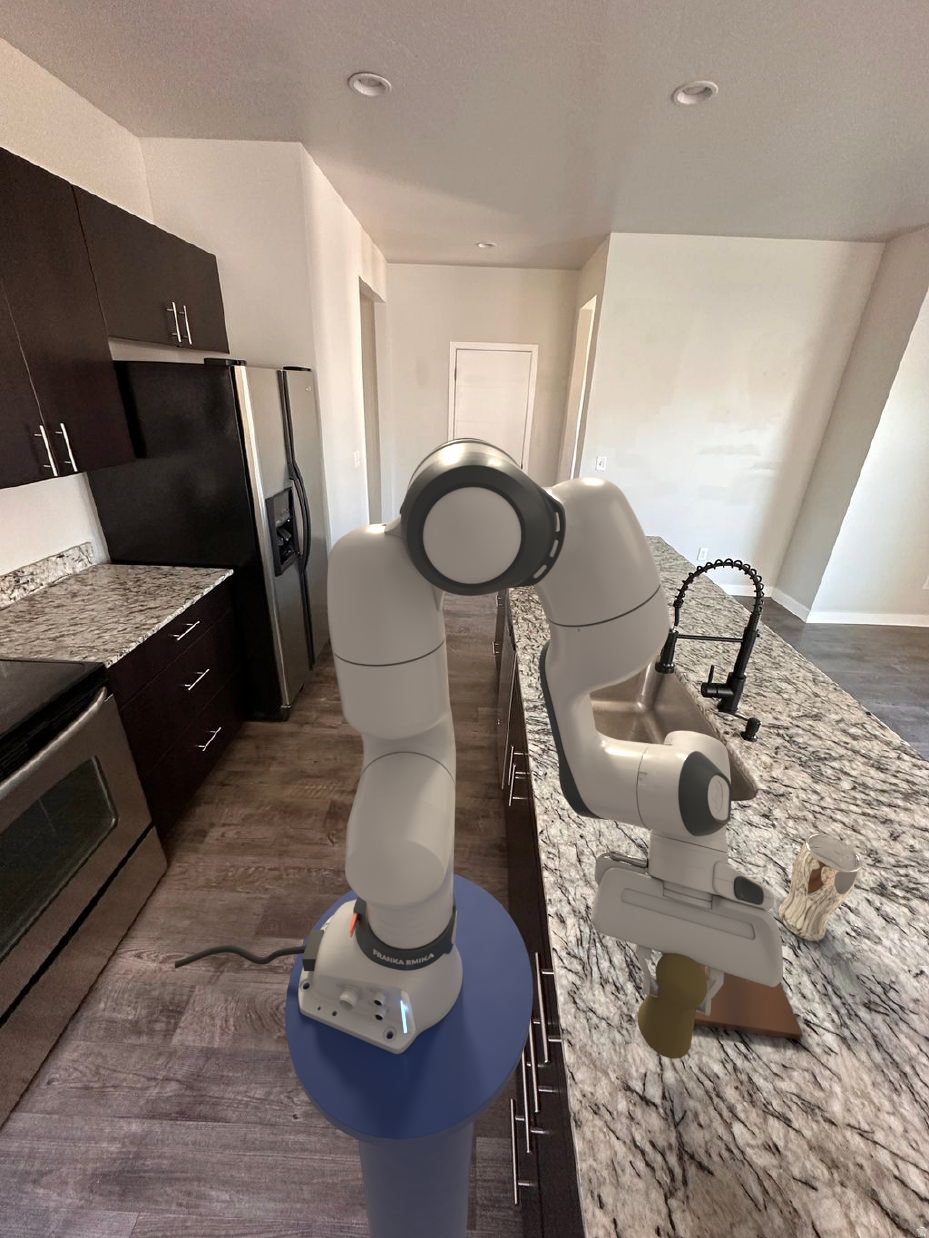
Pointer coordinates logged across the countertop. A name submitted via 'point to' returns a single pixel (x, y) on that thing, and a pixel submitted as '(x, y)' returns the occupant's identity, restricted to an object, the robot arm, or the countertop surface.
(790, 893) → the beer glass
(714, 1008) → the cutting board
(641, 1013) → the pepper mill
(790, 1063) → the countertop surface
